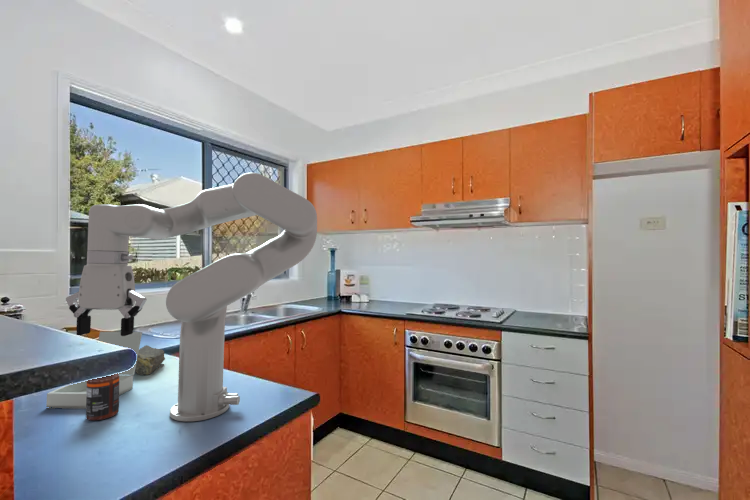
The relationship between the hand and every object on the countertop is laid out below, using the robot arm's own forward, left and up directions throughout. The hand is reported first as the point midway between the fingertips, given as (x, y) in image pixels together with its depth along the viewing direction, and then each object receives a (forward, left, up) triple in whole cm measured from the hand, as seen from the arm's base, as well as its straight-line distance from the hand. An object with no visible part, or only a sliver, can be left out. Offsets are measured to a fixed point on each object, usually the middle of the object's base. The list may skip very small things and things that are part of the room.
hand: (105, 334), depth 81 cm
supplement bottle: (0, 0, -18) cm, 18 cm away
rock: (+10, -34, -18) cm, 40 cm away
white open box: (+10, -12, -18) cm, 24 cm away
